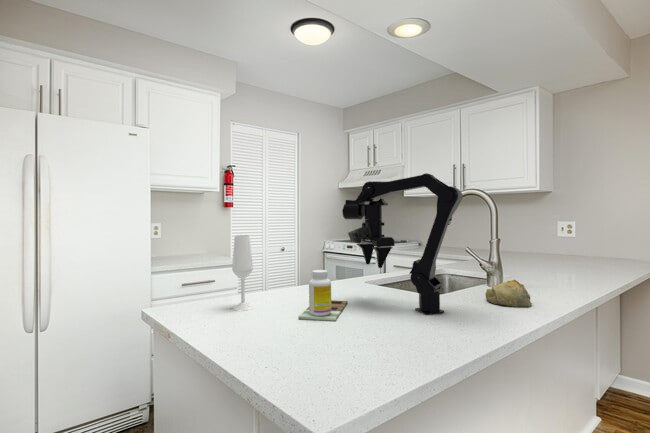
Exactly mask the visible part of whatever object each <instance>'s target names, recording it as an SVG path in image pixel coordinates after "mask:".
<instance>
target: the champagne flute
mask: <svg viewBox="0 0 650 433" xmlns="http://www.w3.org/2000/svg"><path fill="white" fill-rule="evenodd" d="M233 241H234V242H233V251H232V265H231V266H232V268H231V271H232V273H233V274H234V275H235V276H236V277H237V278H239V279H240V295H241V296H240V299H241V300H240V301H241V302H240V303H238V304H237V305H236V306H234V307H233V308H232V310H234V311H239V312H240V311H241V312H242V311H249V310H252V309H254V306H253V305H250V304H249V303H248V302H246V294H245V293H246V292H245V291H246V290H245V288H246V287H245V286H246V284H245V283H246V282H245V279H246V278H247V277H248V276H250V275H251V273H252V272H253V269H254V267H253V266H254V265H253V256H252V249H251V248H252V246H251V237H250V234H240V235H238V234H237V235H234V239H233Z"/></svg>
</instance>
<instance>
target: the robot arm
mask: <svg viewBox="0 0 650 433" xmlns="http://www.w3.org/2000/svg"><path fill="white" fill-rule="evenodd" d="M422 188H426V189H428V190H429V192H431V193H432V194H433V195H435V196H436V197H437V201H436V214H435V218H434V221H433V224H432V227H431V229H430V233H429V236H428V239H427V242H426V244H425V248H424V251H423V252H422V257H420V259H417V260H414V261H413V263H412V267H411V268H412V269H410V271H409V274H410V281H411V283H412V284H413V286H414V287H415V290H416V292H417V294H418V307H415V311H416V312H417V311H418V312H420V313H422V314H424V315H436V314H444V313H445V310H442V309H441V298H440V295H441V293H440V290H441V288H442V286H443V283H442V282H441V281H440V280H439V279H438V278H437V277H436V270H437V258H438V255H439V252H440V249H441V246H442V244H443V241H444V238H445V235H446V233H447V230H448V227H449V223H450V221H451V219H452V216H453V215H454V213H455V212H456V211H457V209H458V208H459V206H460V204H461V202H462V200H463V193H462V191H461V190H460V189H459V188H457V187H454V186H449V185H447V184H446V183H444V182H443V181H441V180H440V179H438V178H437V177H436V176H434V175H433V174H431V173H428V172H427V173H423V174H419V175H415V176H410V177H406V178H405V177H404V178H400V179H399V178H398V179H394V180H390V181H380V180H379V181H378V180H377V181H366V182H364V184H363V185H362V188H361V192H360V193H359V195H358V196H357V197H356V199H345V201H344V202H345V204H343V206H342V207H343V208H342V211H341V212H342V217H343V218H344V219H345V220H362V219H364V222H362V223H361V227H359V228H356V229H353V230H351V231H349V232H347V235H348V237H349V240H350V242H351V243H356V246H358V247H359V248H360V249H361V251H362V254H363V257H364V261H365V265H370V264H371V261H372V257H373V253H374V251H375V252H376V260H377V261H376V262H377V268H378V269H382V268H383V266H384V263H385V262H386V259H387V257H388V255H389V253H390V252H391V250H392V249H393V247H395V245H396V242H395V239H394V238H393V236H392V237H391V236H385V234H383V226H385V221H383V208H382V207H383V206H385V207H386V206H389V203H387V201H385V200H384V198H385V197H387V196H390V195H392V194H395V193H399V192H400V193H401V192H404V191H411V190H416V189H422ZM366 203H367V204H366ZM409 274H408V275H409Z"/></svg>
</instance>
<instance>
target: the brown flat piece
mask: <svg viewBox="0 0 650 433" xmlns="http://www.w3.org/2000/svg"><path fill="white" fill-rule="evenodd" d="M348 303H349V302H348V300H337V299H336V300H335V299H334V300H333V299H331V307H332V311H331V314H329V315H326V316H314V315H311V314H310V310H309V306H308V307H307V308H306V309H305V310H304V311H303V312H302V313H301V314H299V316H298V320H303V321H304V320H305V321H323V322H325V321H326V322H336V321H337V320H338V318H339V317H340V316H341V315H342V314H341V313H343V311H344V310H345V308H346V306H347V305H348Z"/></svg>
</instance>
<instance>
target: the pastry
mask: <svg viewBox="0 0 650 433" xmlns="http://www.w3.org/2000/svg"><path fill="white" fill-rule="evenodd" d="M485 299H486V301H488V302H489V303H492V304H493V305H497V306H498V305H499V306H501V305H502V306H504V307H505V306H508V307H512V308H530V307H532V304H533V303H532V302H531V295H530V294H529V292H528V290H527V288H525V286H524V284H523V283H520V282H519V281H517V280H516V279H511V280H508V281H504V282H501V283H498V284H496V285H492V286H491V288H487V289H486V291H485Z"/></svg>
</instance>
